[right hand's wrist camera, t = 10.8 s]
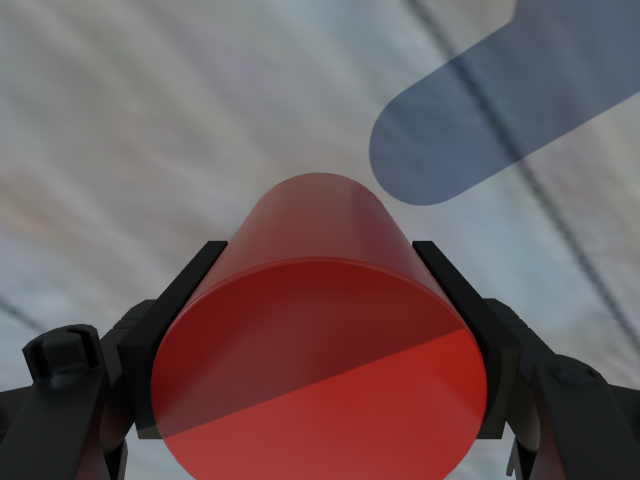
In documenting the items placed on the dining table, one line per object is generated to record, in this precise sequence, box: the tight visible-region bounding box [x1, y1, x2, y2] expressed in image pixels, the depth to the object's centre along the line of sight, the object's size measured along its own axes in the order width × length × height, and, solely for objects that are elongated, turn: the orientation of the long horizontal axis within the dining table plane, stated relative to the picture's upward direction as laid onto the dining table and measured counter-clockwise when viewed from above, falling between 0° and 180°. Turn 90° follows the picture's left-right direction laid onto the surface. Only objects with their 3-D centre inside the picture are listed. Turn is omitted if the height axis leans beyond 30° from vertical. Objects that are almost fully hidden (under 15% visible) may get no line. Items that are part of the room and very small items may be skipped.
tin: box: [151, 173, 488, 480], centre depth 12 cm, size 7×7×10 cm
